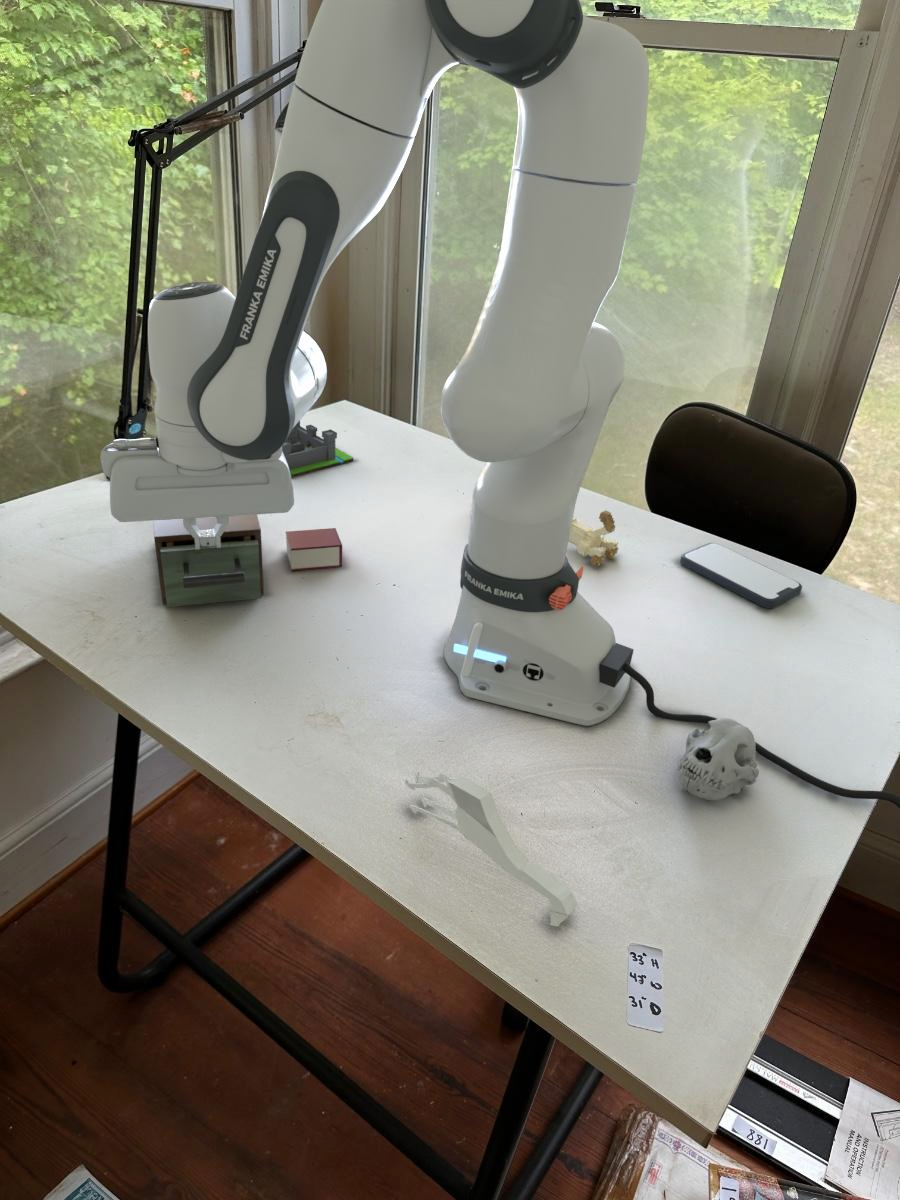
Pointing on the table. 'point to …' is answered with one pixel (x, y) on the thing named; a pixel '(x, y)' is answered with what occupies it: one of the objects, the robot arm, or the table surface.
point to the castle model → (312, 450)
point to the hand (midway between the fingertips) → (207, 546)
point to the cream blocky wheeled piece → (594, 539)
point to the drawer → (211, 571)
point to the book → (314, 549)
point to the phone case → (741, 575)
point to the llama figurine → (494, 837)
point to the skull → (719, 760)
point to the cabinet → (178, 532)
